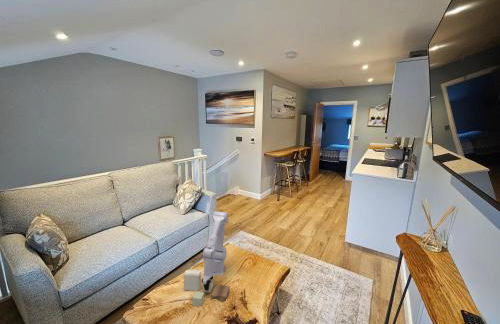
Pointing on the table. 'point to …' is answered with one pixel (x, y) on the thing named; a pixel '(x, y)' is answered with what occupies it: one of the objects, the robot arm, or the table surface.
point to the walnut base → (220, 292)
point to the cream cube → (209, 286)
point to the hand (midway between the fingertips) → (208, 287)
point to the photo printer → (192, 280)
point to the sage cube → (198, 298)
